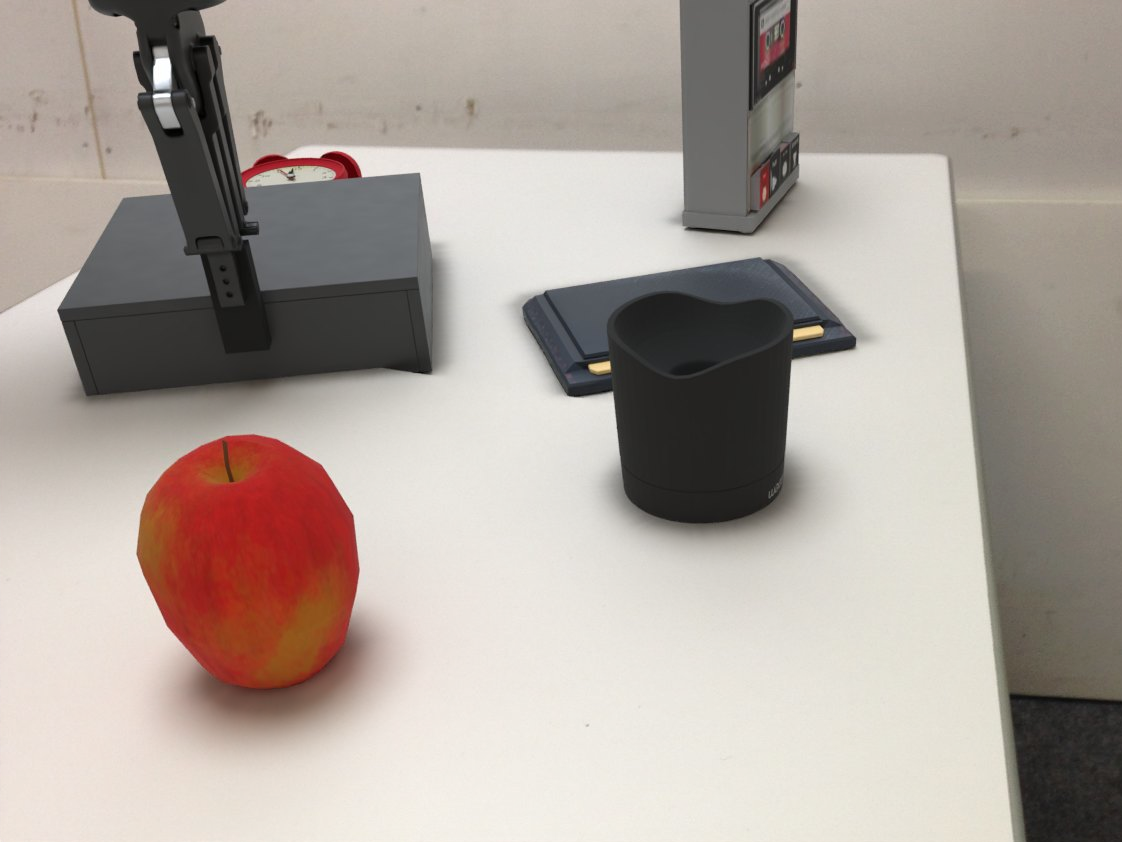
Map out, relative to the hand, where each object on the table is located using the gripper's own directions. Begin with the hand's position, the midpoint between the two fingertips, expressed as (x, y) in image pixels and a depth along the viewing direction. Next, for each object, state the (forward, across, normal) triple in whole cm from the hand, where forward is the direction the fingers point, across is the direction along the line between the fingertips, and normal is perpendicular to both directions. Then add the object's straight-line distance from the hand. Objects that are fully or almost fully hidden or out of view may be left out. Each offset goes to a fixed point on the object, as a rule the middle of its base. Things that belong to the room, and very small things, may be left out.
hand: (249, 346), depth 80 cm
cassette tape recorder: (+4, +28, -37) cm, 46 cm away
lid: (+3, +11, 0) cm, 12 cm away
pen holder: (+4, -18, -26) cm, 32 cm away
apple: (+4, -30, -4) cm, 30 cm away
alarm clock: (+4, +34, 0) cm, 35 cm away
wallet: (+4, +4, -28) cm, 29 cm away
